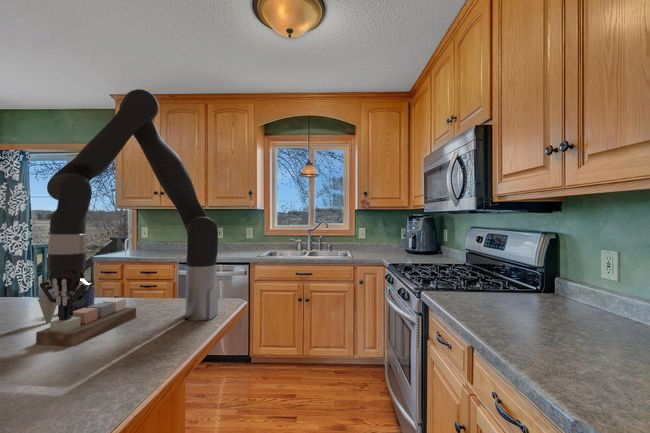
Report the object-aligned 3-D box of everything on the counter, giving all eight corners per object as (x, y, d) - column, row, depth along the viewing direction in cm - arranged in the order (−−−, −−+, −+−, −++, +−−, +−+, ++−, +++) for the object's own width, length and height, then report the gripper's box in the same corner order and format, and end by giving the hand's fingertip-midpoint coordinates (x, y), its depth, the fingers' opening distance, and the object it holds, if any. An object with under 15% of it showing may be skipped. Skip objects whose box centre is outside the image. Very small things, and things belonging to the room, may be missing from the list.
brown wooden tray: (137, 320, 98) (138, 307, 98) (74, 350, 75) (75, 334, 75) (105, 319, 99) (105, 306, 99) (33, 348, 76) (33, 332, 76)
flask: (96, 311, 107) (96, 280, 107) (89, 313, 104) (89, 281, 105) (70, 310, 108) (71, 279, 108) (63, 312, 105) (63, 281, 105)
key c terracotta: (97, 319, 86) (97, 308, 86) (84, 324, 82) (85, 312, 82) (83, 318, 87) (83, 307, 87) (70, 323, 82) (70, 312, 83)
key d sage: (80, 328, 81) (80, 317, 81) (65, 334, 77) (66, 322, 77) (65, 327, 81) (65, 316, 81) (50, 333, 77) (50, 321, 77)
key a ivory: (125, 308, 97) (126, 298, 97) (115, 311, 93) (116, 302, 93) (113, 307, 98) (113, 298, 98) (102, 311, 93) (103, 301, 94)
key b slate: (112, 313, 92) (112, 303, 92) (101, 317, 88) (101, 307, 88) (99, 312, 92) (99, 302, 92) (87, 317, 88) (87, 306, 88)
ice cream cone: (63, 324, 94) (64, 274, 94) (43, 329, 89) (45, 277, 89) (52, 322, 95) (54, 273, 95) (32, 327, 90) (34, 276, 91)
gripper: (103, 250, 82) (101, 316, 82) (57, 249, 84) (55, 313, 83) (78, 253, 75) (76, 325, 75) (28, 252, 76) (26, 322, 76)
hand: (65, 319), depth 79 cm, fingers closed
